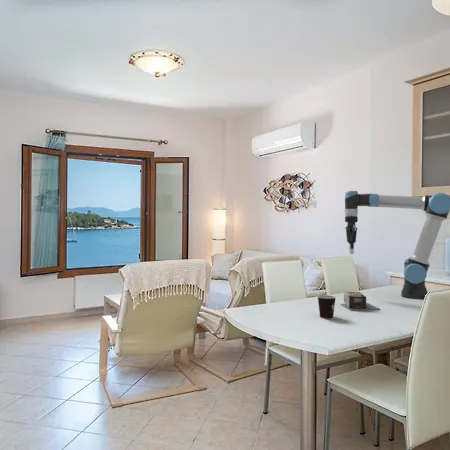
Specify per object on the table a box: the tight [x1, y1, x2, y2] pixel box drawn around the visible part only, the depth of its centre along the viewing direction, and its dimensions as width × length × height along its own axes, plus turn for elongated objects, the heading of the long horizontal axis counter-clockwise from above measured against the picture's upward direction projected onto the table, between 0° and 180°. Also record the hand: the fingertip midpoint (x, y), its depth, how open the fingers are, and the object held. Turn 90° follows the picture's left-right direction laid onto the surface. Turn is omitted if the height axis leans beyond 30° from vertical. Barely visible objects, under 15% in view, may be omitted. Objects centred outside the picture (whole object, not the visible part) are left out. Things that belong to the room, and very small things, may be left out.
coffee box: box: [343, 291, 367, 309], centre depth 232 cm, size 9×6×16 cm
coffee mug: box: [317, 294, 337, 319], centre depth 209 cm, size 12×9×10 cm
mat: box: [340, 302, 381, 312], centre depth 230 cm, size 16×14×1 cm
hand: (351, 253), depth 261 cm, fingers closed
